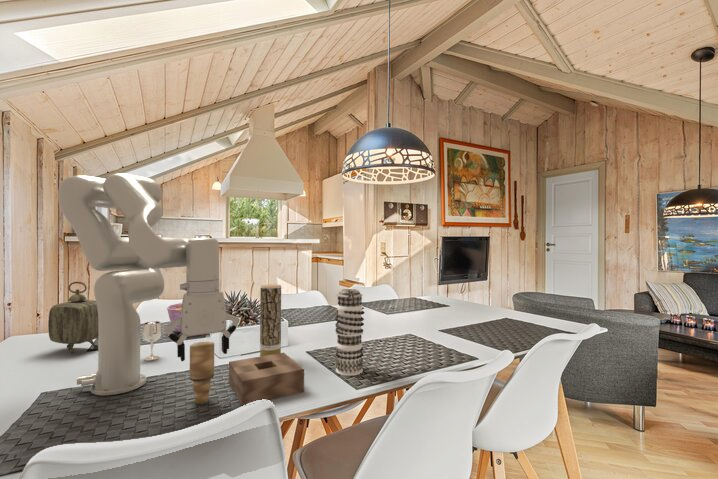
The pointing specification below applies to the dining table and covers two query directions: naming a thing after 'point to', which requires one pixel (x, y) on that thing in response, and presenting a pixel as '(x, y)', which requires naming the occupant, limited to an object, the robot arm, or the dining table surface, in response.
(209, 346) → the oak peg
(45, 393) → the dining table surface
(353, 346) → the patterned tall cylinder
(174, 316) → the bowl of food
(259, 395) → the socket block
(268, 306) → the bark pattern cylinder
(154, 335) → the wineglass
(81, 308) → the tabletop clock
